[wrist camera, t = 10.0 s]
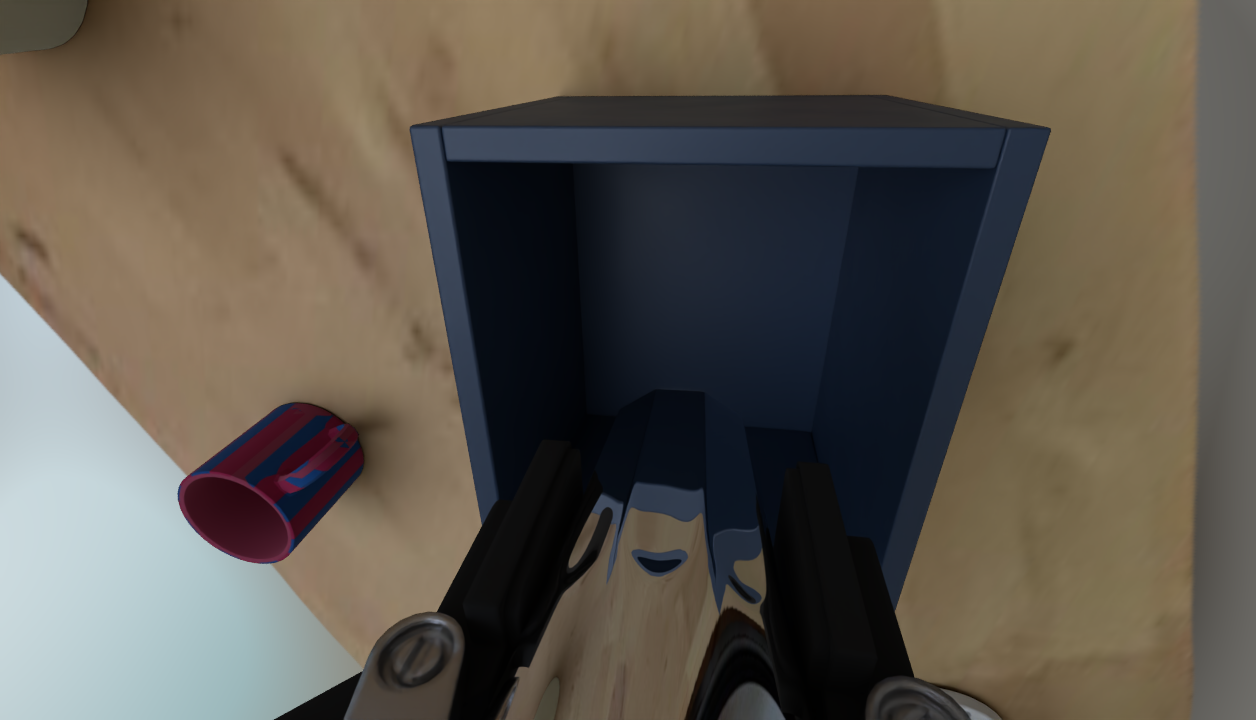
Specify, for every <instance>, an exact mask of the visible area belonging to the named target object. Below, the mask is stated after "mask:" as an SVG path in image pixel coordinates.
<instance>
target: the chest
mask: <svg viewBox="0 0 1256 720" xmlns="http://www.w3.org/2000/svg"><path fill="white" fill-rule="evenodd" d="M1050 132H1051V129H1050V128H1048V127H1044V126H1039V125H1034V124H1029V123H1024V122H1019V121H1014V120H1009V119H1004V118H999V117H994V116H989V115H984V114H979V113H974V112H969V111H964V110H959V109H953V108H948V107H943V106H938V105H933V104H928V103H923V102H918V101H913V100H908V99H903V98H898V97H893V96H888V95H796V96H558V97H553V98H548V99H543V100H538V101H532V102H527V103H522V104H517V105H512V106H507V107H502V108H497V109H492V110H487V111H482V112H477V113H472V114H466V115H461V116H456V117H451V118H446V119H441V120H436V121H431V122H426V123H421V124H416V125H412V126H411V127H410V134H411V140H412V145H413V151H414V156H415V162H416V167H417V173H418V178H419V184H420V189H421V194H422V200H423V205H424V211H425V216H426V222H427V227H428V233H429V238H430V244H431V249H432V255H433V260H434V265H435V271H436V276H437V282H438V287H439V293H440V298H441V304H442V309H443V315H444V320H445V326H446V331H447V337H448V342H449V347H450V353H451V358H452V364H453V369H454V375H455V380H456V386H457V391H458V397H459V402H460V408H461V413H462V418H463V424H464V429H465V435H466V440H467V446H468V451H469V457H470V462H471V468H472V473H473V479H474V484H475V490H476V495H477V500H478V506H479V511H480V517H481V522H482V525H483V523H484V521H485V519H486V518H487V516H488V514H489V512H490V510H491V508H492V506H493V505H494V503H495V502H496V501H498V500H499V499H501V500H511V501H513V499H514V497H515V494H516V492H517V490H518V488H519V486H520V484H521V482H522V480H523V478H524V476H525V474H526V472H527V470H528V468H529V466H530V464H531V462H532V460H533V457H534V455H535V453H536V451H537V449H538V447H539V445H540V443H541V442H542V440H544V439H547V440H559V441H569V442H571V445H572V449H579V450H580V455H581V471H582V486H583V495H584V493H585V491H586V488H587V486H588V484H589V481H590V479H591V476H592V474H593V472H594V469H595V467H596V464H597V462H598V460H599V457H600V455H601V452H602V450H603V448H604V445H605V443H606V440H607V438H608V436H609V433H610V431H611V429H612V426H613V424H614V421H615V419H616V417H617V414H618V412H619V410H620V409H621V408H623V407H624V406H626V405H628V404H630V403H631V402H633V401H635V400H637V399H638V398H640V397H642V396H644V395H645V394H647V393H649V392H651V391H652V390H654V389H656V388H673V389H693V390H705V391H706V392H708V393H709V394H711V395H712V396H713V397H715V398H716V399H718V400H719V401H721V402H722V403H724V404H725V405H726V406H728V407H729V408H731V409H732V410H734V411H735V412H737V413H738V414H740V415H741V416H742V419H743V422H744V426H745V429H746V432H747V436H748V439H749V442H750V446H751V449H752V452H753V455H754V459H755V464H756V469H757V474H758V478H759V483H760V488H761V493H762V498H763V503H764V507H765V512H766V517H767V522H768V527H769V532H770V536H771V541H772V546H774V540H775V533H776V527H777V521H778V514H779V508H780V502H781V495H782V489H783V482H784V476H785V471H786V468H796V464H797V462H798V461H801V462H813V463H824V464H828V465H829V468H830V472H831V476H832V480H833V484H834V488H835V492H836V496H837V500H838V503H839V507H840V511H841V515H842V519H843V523H844V527H845V531H846V535H848V536H857V537H867V538H870V539H871V540H872V542H873V544H874V547H875V550H876V553H877V556H878V559H879V563H880V566H881V569H882V572H883V576H884V579H885V582H886V586H887V589H888V592H889V595H890V599H891V602H892V605H893V608H894V612H895V609H896V606H897V603H898V600H899V597H900V594H901V591H902V588H903V585H904V581H905V578H906V575H907V572H908V569H909V566H910V563H911V560H912V557H913V554H914V551H915V548H916V545H917V541H918V538H919V535H920V532H921V529H922V526H923V523H924V520H925V517H926V514H927V511H928V508H929V505H930V501H931V498H932V495H933V492H934V489H935V486H936V483H937V480H938V477H939V474H940V471H941V468H942V464H943V461H944V458H945V455H946V452H947V449H948V446H949V443H950V440H951V437H952V434H953V431H954V428H955V424H956V421H957V418H958V415H959V412H960V409H961V406H962V403H963V400H964V397H965V394H966V391H967V388H968V384H969V381H970V378H971V375H972V372H973V369H974V366H975V363H976V360H977V357H978V354H979V351H980V347H981V344H982V341H983V338H984V335H985V332H986V329H987V326H988V323H989V320H990V317H991V314H992V311H993V307H994V304H995V301H996V298H997V295H998V292H999V289H1000V286H1001V283H1002V280H1003V277H1004V274H1005V271H1006V267H1007V264H1008V261H1009V258H1010V255H1011V252H1012V249H1013V246H1014V243H1015V240H1016V237H1017V234H1018V230H1019V227H1020V224H1021V221H1022V218H1023V215H1024V212H1025V209H1026V206H1027V203H1028V200H1029V197H1030V194H1031V190H1032V187H1033V184H1034V181H1035V178H1036V175H1037V172H1038V169H1039V166H1040V163H1041V160H1042V157H1043V153H1044V150H1045V147H1046V144H1047V141H1048V138H1049V135H1050Z"/></svg>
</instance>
